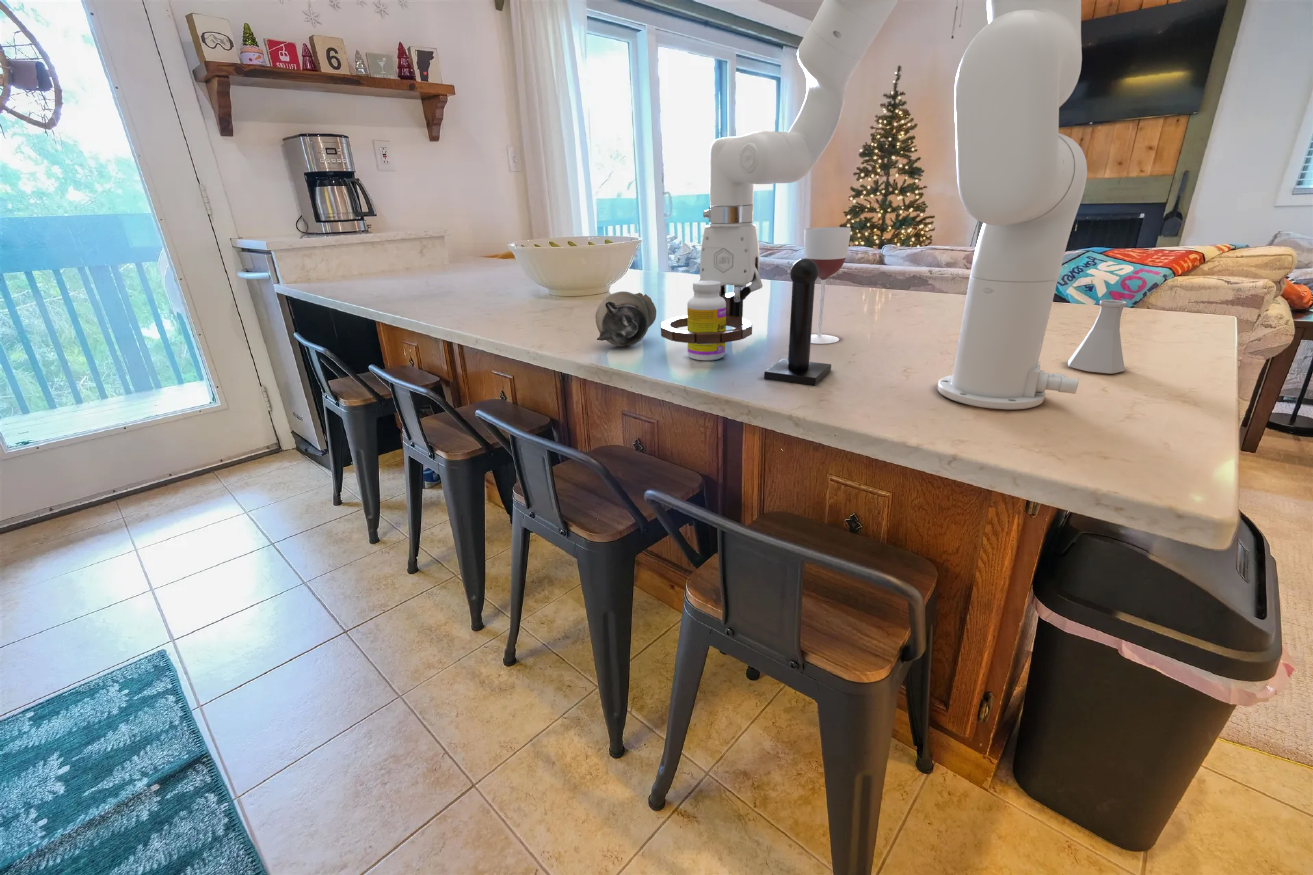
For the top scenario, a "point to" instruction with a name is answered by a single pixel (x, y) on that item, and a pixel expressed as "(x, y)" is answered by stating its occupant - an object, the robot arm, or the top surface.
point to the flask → (1102, 342)
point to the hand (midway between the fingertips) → (729, 321)
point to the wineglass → (826, 262)
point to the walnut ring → (739, 333)
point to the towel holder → (800, 331)
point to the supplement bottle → (706, 318)
